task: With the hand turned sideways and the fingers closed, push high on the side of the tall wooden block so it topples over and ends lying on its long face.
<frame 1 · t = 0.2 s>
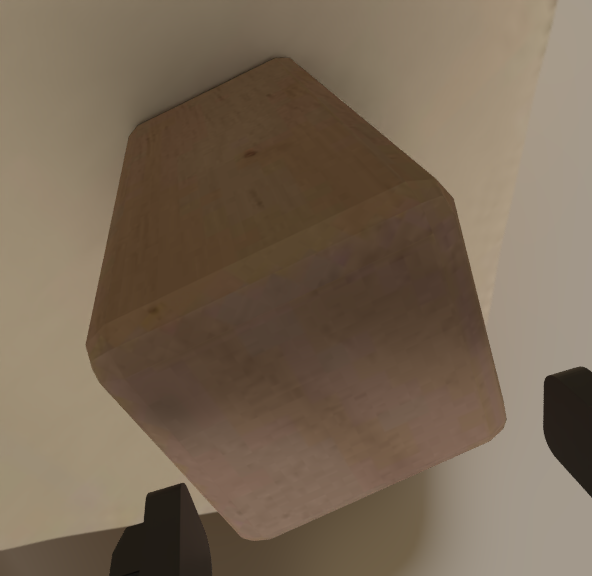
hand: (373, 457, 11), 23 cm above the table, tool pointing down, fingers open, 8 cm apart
wooden block: (244, 167, 31), on the table
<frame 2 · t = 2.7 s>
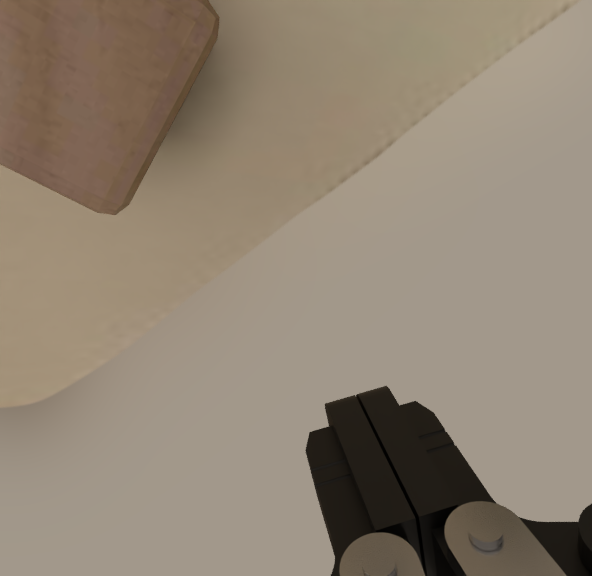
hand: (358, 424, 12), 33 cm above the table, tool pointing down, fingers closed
wooden block: (115, 50, 38), on the table
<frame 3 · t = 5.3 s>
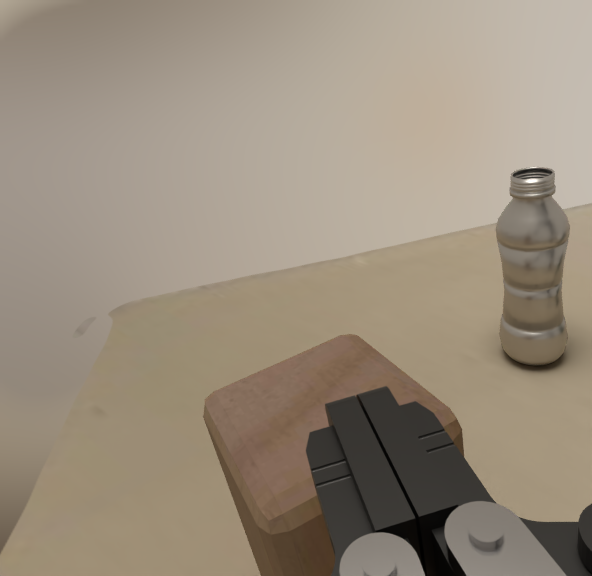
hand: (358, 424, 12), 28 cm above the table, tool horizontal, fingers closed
plastic bottle: (532, 356, 56), on the table
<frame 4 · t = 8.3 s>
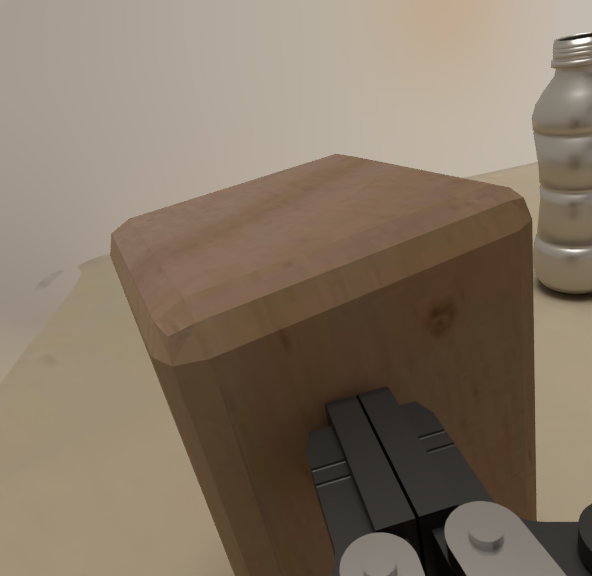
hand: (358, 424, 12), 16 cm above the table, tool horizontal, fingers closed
plastic bottle: (572, 286, 46), on the table
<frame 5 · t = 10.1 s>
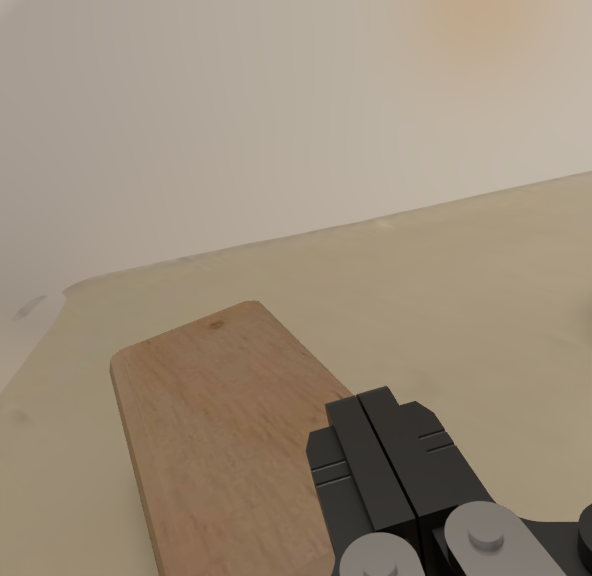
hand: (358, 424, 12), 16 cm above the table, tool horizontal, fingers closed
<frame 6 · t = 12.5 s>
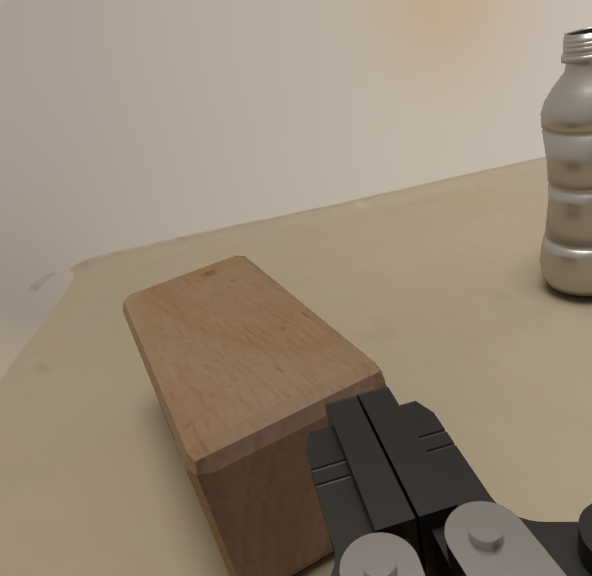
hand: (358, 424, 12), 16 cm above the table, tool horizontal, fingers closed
wooden block: (318, 495, 25), point 5 cm above the table
plastic bottle: (581, 288, 45), on the table
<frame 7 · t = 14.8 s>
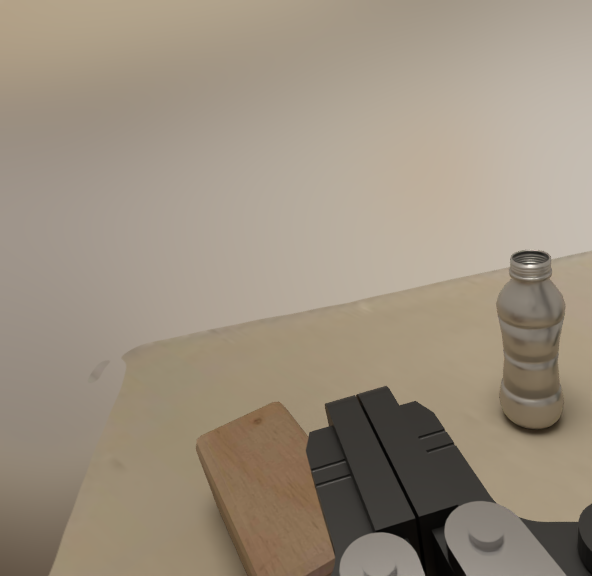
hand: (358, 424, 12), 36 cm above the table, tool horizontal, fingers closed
plastic bottle: (530, 417, 60), on the table
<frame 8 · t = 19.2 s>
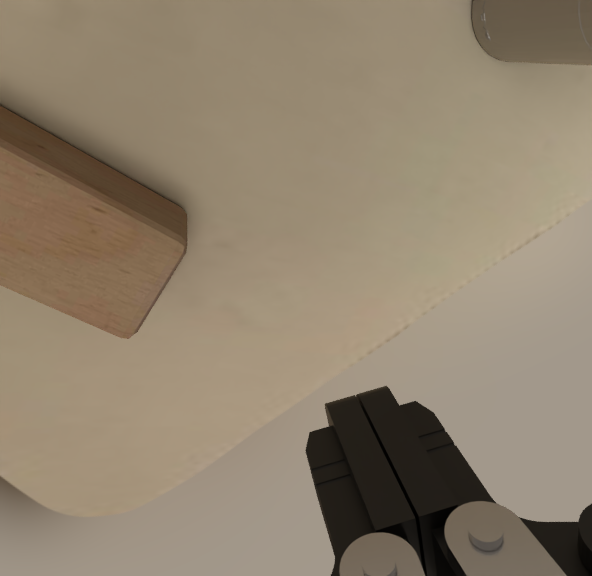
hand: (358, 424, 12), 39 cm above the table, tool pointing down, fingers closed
wooden block: (165, 275, 46), point 5 cm above the table
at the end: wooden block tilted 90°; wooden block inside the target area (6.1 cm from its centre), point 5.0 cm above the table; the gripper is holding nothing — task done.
